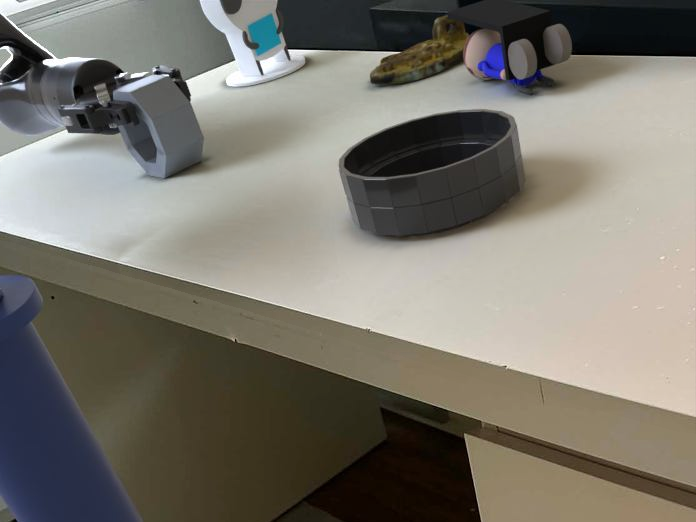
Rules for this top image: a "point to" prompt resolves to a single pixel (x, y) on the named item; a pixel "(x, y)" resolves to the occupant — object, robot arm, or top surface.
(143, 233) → the top surface
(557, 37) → the figurine character
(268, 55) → the panda figurine
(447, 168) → the bowl
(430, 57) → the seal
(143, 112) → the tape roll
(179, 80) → the robot arm
